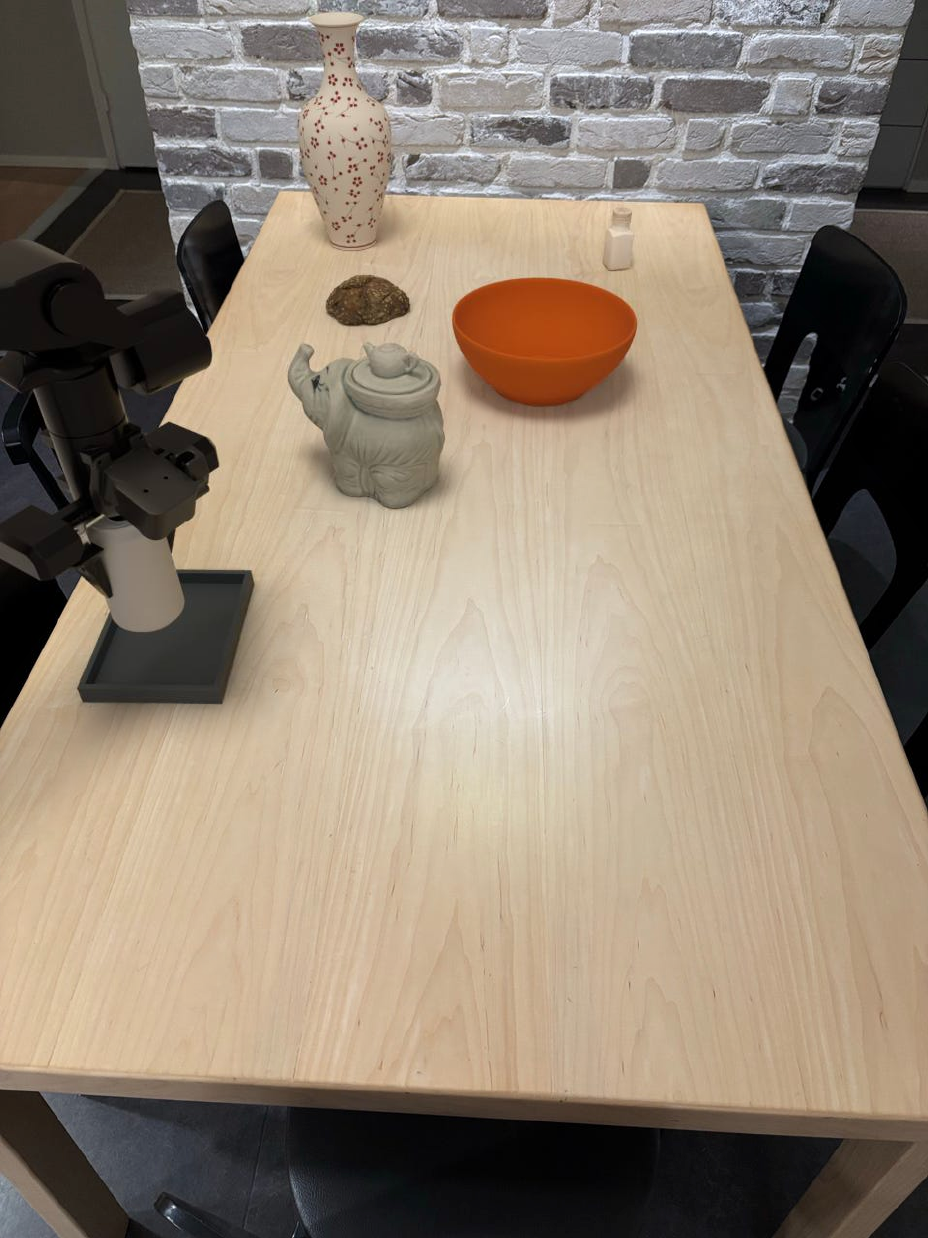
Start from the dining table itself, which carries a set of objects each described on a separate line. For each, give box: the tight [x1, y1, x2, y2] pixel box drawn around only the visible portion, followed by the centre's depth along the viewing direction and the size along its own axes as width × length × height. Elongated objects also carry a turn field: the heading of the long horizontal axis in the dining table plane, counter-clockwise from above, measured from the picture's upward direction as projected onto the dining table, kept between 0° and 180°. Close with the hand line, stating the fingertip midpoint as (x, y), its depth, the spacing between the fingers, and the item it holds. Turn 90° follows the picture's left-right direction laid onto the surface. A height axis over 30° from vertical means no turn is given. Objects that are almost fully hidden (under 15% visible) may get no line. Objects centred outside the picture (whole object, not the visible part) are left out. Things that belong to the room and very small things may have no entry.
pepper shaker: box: [602, 206, 635, 271], centre depth 157 cm, size 4×4×10 cm
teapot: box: [287, 341, 446, 509], centre depth 106 cm, size 16×15×19 cm
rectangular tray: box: [76, 568, 255, 705], centre depth 92 cm, size 17×13×2 cm
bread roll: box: [325, 274, 411, 326], centre depth 146 cm, size 13×12×5 cm
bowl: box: [451, 277, 638, 408], centre depth 127 cm, size 25×25×10 cm
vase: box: [297, 11, 392, 251], centre depth 156 cm, size 16×16×35 cm
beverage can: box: [86, 511, 184, 632], centre depth 79 cm, size 6×6×12 cm
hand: (137, 574), depth 79 cm, fingers closed on beverage can, 6 cm apart
